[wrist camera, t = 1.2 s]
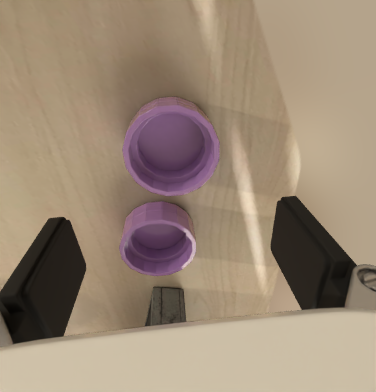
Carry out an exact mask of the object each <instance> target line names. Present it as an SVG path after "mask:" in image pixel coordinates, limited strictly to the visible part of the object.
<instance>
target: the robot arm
mask: <svg viewBox="0 0 376 392" xmlns="http://www.w3.org/2000/svg"><path fill="white" fill-rule="evenodd" d="M271 251H272V254H273V256H274V257H275V259H276V261H277V263H278V265H279V267H280V269H281V271H282V273H283V274H284V277H285V279H286V280H287V282H288V284H289V286H290V288H291V290H292V292H293V294H294V296H295V298H296V300H297V301H298V303H299V305H300V307H301V309H302V310H297V311H286V312H276V313H266V314H257V315H247V316H238V317H228V318H219V319H209V320H200V321H191V322H182V323H173V324H164V325H155V326H146V327H138V328H129V329H120V330H112V331H103V332H95V333H86V334H78V335H70V336H64V333H65V330H66V327H67V324H68V321H69V318H70V315H71V312H72V309H73V307H74V304H75V301H76V298H77V295H78V292H79V289H80V286H81V283H82V280H83V278H84V275H85V272H86V263H85V260H84V257H83V255H82V252H81V249H80V246H79V244H78V241H77V238H76V236H75V233H74V230H73V227H72V225H71V222H70V221H69V220H66V219H65V218H64V217H57V218H49V219H48V221H47V222H46V224H45V225H44V227H43V228H42V230H41V231H40V233H39V234H38V236H37V237H36V239H35V240H34V242H33V243H32V245H31V246H30V248H29V249H28V251H27V252H26V254H25V255H24V257H23V258H22V260H21V261H20V263H19V264H18V266H17V267H16V269H15V270H14V272H13V273H12V275H11V276H10V278H9V279H8V281H7V282H6V284H5V285H4V287H3V288H2V290H1V292H0V392H376V266H374V265H367V264H363V265H358V266H357V265H356V264H355V263H354V261H353V260H352V259H351V258H350V257H349V256H348V255H347V254H346V252H344V250H343V249H342V248H341V247H340V246H339V244H338V243H337V242H336V241H335V240H334V239H333V238H332V236H331V235H330V234H329V233H328V232H327V231H326V230H325V228H324V227H323V226H322V225H321V224H320V223H319V222H318V221H317V220H316V218H315V217H314V216H313V215H312V214H311V213H310V212H309V210H307V208H306V207H305V206H304V205H303V203H301V201H300V200H299V199H298V198H297V197H296V196H289V197H282V198H281V200H280V201H278V202H277V207H276V213H275V220H274V226H273V233H272V239H271Z"/></svg>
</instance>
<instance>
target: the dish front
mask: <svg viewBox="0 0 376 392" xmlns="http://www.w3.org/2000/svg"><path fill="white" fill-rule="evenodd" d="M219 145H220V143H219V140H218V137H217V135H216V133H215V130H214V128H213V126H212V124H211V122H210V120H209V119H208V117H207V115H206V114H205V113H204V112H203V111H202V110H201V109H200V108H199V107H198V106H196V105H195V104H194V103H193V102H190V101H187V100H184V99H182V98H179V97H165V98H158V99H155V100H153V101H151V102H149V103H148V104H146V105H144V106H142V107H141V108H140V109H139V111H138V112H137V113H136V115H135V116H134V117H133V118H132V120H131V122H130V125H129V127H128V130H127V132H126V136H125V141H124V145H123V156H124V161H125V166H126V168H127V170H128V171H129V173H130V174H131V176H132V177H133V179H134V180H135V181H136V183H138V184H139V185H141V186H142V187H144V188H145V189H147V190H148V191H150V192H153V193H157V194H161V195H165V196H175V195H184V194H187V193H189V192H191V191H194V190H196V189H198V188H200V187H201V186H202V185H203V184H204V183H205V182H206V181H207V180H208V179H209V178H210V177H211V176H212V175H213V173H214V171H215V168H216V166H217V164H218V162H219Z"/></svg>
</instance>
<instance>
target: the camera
mask: <svg viewBox="0 0 376 392" xmlns="http://www.w3.org/2000/svg"><path fill="white" fill-rule="evenodd" d="M182 322H186V315H185V303H184V291H183V289H173V288H160V287H153V292H152V296H151V301H150V305H149V310H148V314H147V319H146V323H145V327H146V326H155V325H164V324H173V323H182Z"/></svg>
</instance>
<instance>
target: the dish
mask: <svg viewBox="0 0 376 392" xmlns="http://www.w3.org/2000/svg"><path fill="white" fill-rule="evenodd" d="M119 250H120V253H121V257H122V260H123V261H124V262H125V263H126V264H127V265H128V266H129V267H130V268H131V269H133V270H135V271H137V272H139V273H141V274H146V275H152V276H162V275H170V274H173V273H175V272H178V271H180V270H182V269H183V268H185V267H186V266H187V265H188V264H189V263H191V261H192V259H193V257H194V255H195V253H196V239H195V233H194V227H193V222H192V220H191V218H190V217H189V215H188V213H187V212H186V211H184V210H183V209H181V208H180V207H179V206H177V205H175V204H171V203H167V202H163V201H161V202H149V203H146V204H143V205H141V206H139V207H137V208H135V209H134V210H133V211H132V212H131V213H130V214H129V215H128V216H127V217H126V220H125V224H124V227H123V232H122V236H121V241H120V246H119Z"/></svg>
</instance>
